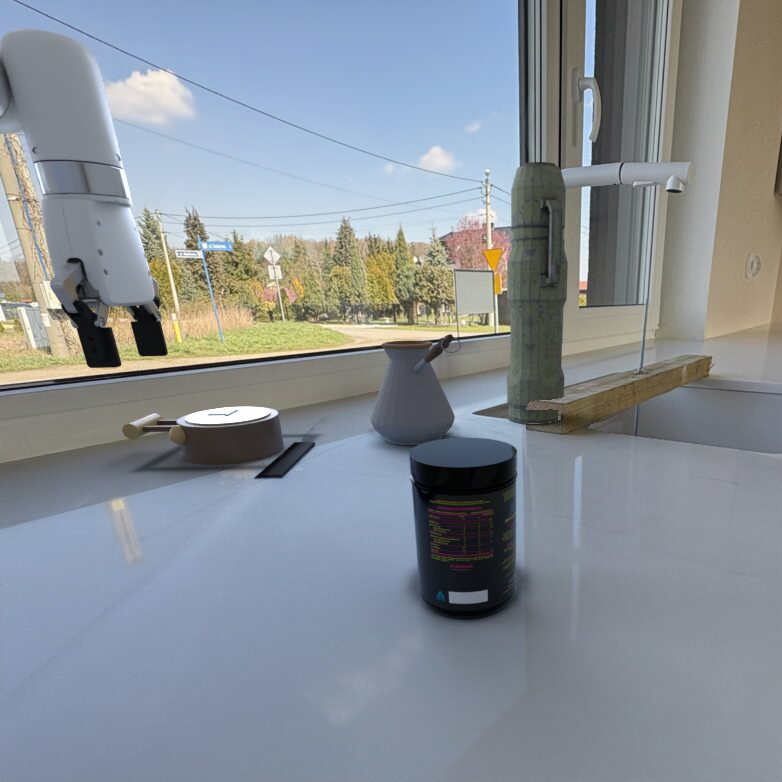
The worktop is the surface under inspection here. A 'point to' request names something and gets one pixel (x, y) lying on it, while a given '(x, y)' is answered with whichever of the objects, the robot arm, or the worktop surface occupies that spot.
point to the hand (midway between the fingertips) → (131, 361)
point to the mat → (286, 460)
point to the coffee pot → (412, 394)
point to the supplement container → (465, 524)
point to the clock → (218, 434)
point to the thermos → (536, 291)
